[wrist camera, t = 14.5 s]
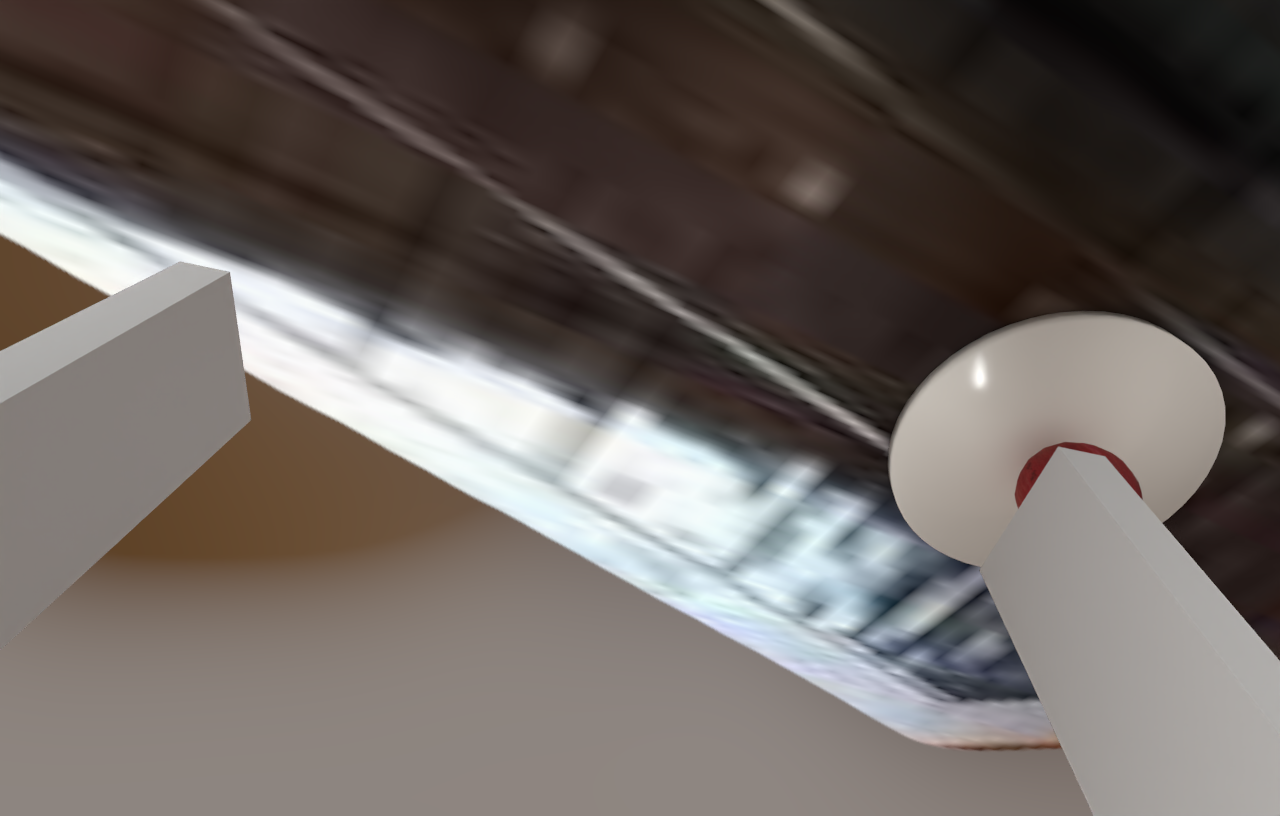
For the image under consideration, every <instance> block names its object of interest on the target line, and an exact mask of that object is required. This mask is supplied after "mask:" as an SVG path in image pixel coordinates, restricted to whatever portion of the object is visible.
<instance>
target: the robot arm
mask: <svg viewBox="0 0 1280 816" xmlns="http://www.w3.org/2000/svg"><path fill="white" fill-rule="evenodd" d="M250 420H251V417H250V409H249V402H248V395H247V388H246V381H245V374H244V367H243V360H242V353H241V346H240V339H239V332H238V325H237V318H236V311H235V305H234V298H233V291H232V284H231V277H230V272H227V271H222V270H218V269H213V268H208V267H203V266H199V265H194V264H189V263H184V262H178V263H176V264H174V265H172V266H170V267H168V268H166V269H164V270H162V271H160V272H158V273H156V274H154V275H152V276H150V277H148V278H146V279H144V280H142V281H140V282H138V283H136V284H134V285H132V286H130V287H128V288H126V289H124V290H122V291H120V292H118V293H116V294H114V295H112V296H110V297H108V298H106V299H104V300H102V301H100V302H98V303H96V304H94V305H92V306H90V307H88V308H86V309H84V310H82V311H80V312H78V313H76V314H74V315H72V316H70V317H68V318H66V319H64V320H62V321H60V322H58V323H56V324H54V325H52V326H50V327H48V328H46V329H44V330H42V331H40V332H38V333H36V334H34V335H32V336H30V337H28V338H26V339H24V340H22V341H20V342H18V343H16V344H14V345H12V346H10V347H8V348H6V349H4V350H2V351H0V650H1V649H2V648H3V647H4V646H6V645H7V644H8V643H9V642H10V641H11V640H12V639H13V638H14V637H15V636H16V635H17V634H18V633H20V632H21V631H22V630H23V629H24V628H25V627H26V626H27V625H28V624H29V623H30V622H31V621H33V620H34V619H35V618H36V617H37V616H38V615H39V614H40V613H41V612H43V611H44V610H45V609H46V608H47V607H48V606H49V605H50V604H51V603H52V602H53V601H54V600H56V599H57V598H58V597H59V596H60V595H61V594H62V593H63V592H64V591H65V590H66V589H68V588H69V587H70V586H71V585H72V584H73V583H74V582H75V581H76V580H77V579H78V578H80V577H81V576H82V575H83V574H84V573H85V572H86V571H87V570H88V569H89V568H90V567H92V566H93V565H94V564H95V563H96V562H97V561H98V560H99V559H100V558H101V557H102V556H103V555H105V554H106V553H107V552H108V551H109V550H110V549H111V548H112V547H113V546H114V545H115V544H117V543H118V542H119V541H120V540H121V539H122V538H123V537H124V536H125V535H126V534H127V533H128V532H130V530H132V529H133V528H134V527H135V526H136V525H137V524H138V523H139V522H140V521H142V520H143V519H144V518H145V517H146V516H147V515H148V514H149V513H150V512H151V511H152V510H154V509H155V508H156V507H157V506H158V505H159V504H160V503H161V502H162V501H163V500H164V499H166V498H167V497H168V496H169V495H170V494H171V493H172V492H173V491H174V490H175V489H176V488H178V487H179V486H180V485H181V484H182V483H183V482H184V481H185V480H186V479H187V478H188V477H190V476H191V475H192V474H193V473H194V472H195V471H196V470H197V469H198V468H199V467H200V466H201V465H203V464H204V463H205V462H206V461H207V460H208V459H209V458H210V457H211V456H212V455H213V454H214V453H215V452H217V451H218V450H219V449H220V448H221V447H222V446H223V445H224V444H225V443H226V442H228V441H229V440H230V439H231V438H232V437H233V436H234V435H235V434H236V433H237V432H238V431H239V430H241V429H242V428H243V427H244V426H245V425H246V424H247V423H248V422H249V421H250ZM980 573H981V575H982V577H983V579H984V581H985V583H986V585H987V588H988V590H989V592H990V594H991V596H992V598H993V601H994V603H995V605H996V607H997V609H998V611H999V613H1000V616H1001V618H1002V620H1003V622H1004V624H1005V626H1006V628H1007V631H1008V633H1009V635H1010V637H1011V639H1012V641H1013V644H1014V646H1015V648H1016V650H1017V652H1018V654H1019V656H1020V659H1021V661H1022V663H1023V665H1024V667H1025V669H1026V672H1027V674H1028V676H1029V678H1030V680H1031V682H1032V684H1033V687H1034V689H1035V691H1036V693H1037V695H1038V697H1039V699H1040V702H1041V704H1042V706H1043V708H1044V710H1045V712H1046V715H1047V717H1048V719H1049V721H1050V723H1051V725H1052V727H1053V730H1054V732H1055V734H1056V736H1057V738H1058V740H1059V742H1060V745H1061V747H1062V749H1063V751H1064V753H1065V755H1066V757H1067V760H1068V762H1069V764H1070V766H1071V768H1072V770H1073V772H1074V775H1075V777H1076V779H1077V781H1078V783H1079V785H1080V788H1081V790H1082V792H1083V794H1084V796H1085V798H1086V801H1087V802H1088V805H1089V807H1090V809H1091V811H1092V813H1093V816H1280V661H1279V660H1278V658H1277V657H1276V656H1275V655H1274V654H1273V652H1272V651H1271V650H1270V649H1269V648H1268V647H1267V645H1266V644H1265V643H1264V642H1263V641H1262V640H1261V638H1260V637H1259V636H1258V635H1257V634H1256V633H1255V631H1254V630H1253V629H1252V628H1251V627H1250V626H1249V624H1248V623H1247V622H1246V621H1245V620H1244V618H1243V617H1242V616H1241V615H1240V614H1239V613H1238V611H1237V610H1236V609H1235V608H1234V607H1233V606H1232V604H1231V603H1230V602H1229V601H1228V600H1227V599H1226V597H1225V596H1224V595H1223V594H1222V593H1221V592H1220V590H1219V589H1218V588H1217V587H1216V586H1215V585H1214V583H1213V582H1212V581H1211V580H1210V579H1209V577H1208V576H1207V575H1206V574H1205V573H1204V572H1203V570H1202V569H1201V568H1200V567H1199V566H1198V565H1197V563H1196V562H1195V561H1194V560H1193V559H1192V558H1191V556H1190V555H1189V554H1188V553H1187V552H1186V551H1185V549H1184V548H1183V547H1182V546H1181V545H1180V543H1179V542H1178V541H1177V540H1176V539H1175V538H1174V536H1173V535H1172V534H1171V533H1170V532H1169V531H1168V529H1167V528H1166V527H1165V526H1164V525H1163V524H1162V522H1161V521H1160V520H1159V519H1158V518H1157V517H1156V515H1155V514H1154V513H1153V512H1152V511H1151V510H1150V508H1149V507H1148V506H1147V505H1146V504H1145V502H1144V501H1143V500H1142V499H1141V498H1140V497H1139V495H1138V494H1137V493H1136V492H1135V491H1134V490H1133V488H1132V487H1131V486H1130V485H1129V484H1128V483H1127V481H1126V480H1125V479H1124V478H1123V477H1122V476H1121V474H1120V473H1119V472H1118V471H1117V470H1116V468H1115V467H1114V466H1113V465H1112V464H1111V463H1110V461H1109V460H1108V459H1107V458H1106V457H1105V456H1101V455H1096V454H1091V453H1087V452H1082V451H1077V450H1072V449H1068V448H1063V447H1057V449H1056V451H1055V452H1054V454H1053V455H1052V457H1051V458H1050V460H1049V462H1048V463H1047V465H1046V466H1045V468H1044V469H1043V471H1042V473H1041V474H1040V476H1039V477H1038V479H1037V480H1036V482H1035V484H1034V485H1033V487H1032V488H1031V490H1030V491H1029V493H1028V495H1027V496H1026V498H1025V499H1024V501H1023V502H1022V504H1021V506H1020V507H1019V509H1018V510H1017V512H1016V513H1015V515H1014V517H1013V518H1012V520H1011V521H1010V523H1009V524H1008V526H1007V528H1006V529H1005V531H1004V532H1003V534H1002V535H1001V537H1000V539H999V540H998V542H997V543H996V545H995V546H994V548H993V550H992V551H991V553H990V554H989V556H988V557H987V559H986V561H985V562H984V564H983V565H982V567H981V568H980Z"/></svg>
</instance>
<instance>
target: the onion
mask: <svg viewBox="0 0 1280 816" xmlns="http://www.w3.org/2000/svg"><path fill="white" fill-rule="evenodd" d="M1057 447H1063V448H1068V449H1072V450H1077V451H1082V452H1087V453H1091V454H1096V455H1101V456H1105V457H1106V458H1107V459H1108V460H1109V461H1110V463H1111V464H1112V465H1113V466H1114V467H1115V468H1116V470H1117V471H1118V472H1119V473H1120V474H1121V476H1122V477H1123V478H1124V479H1125V480H1126V481H1127V483H1128V484H1129V485H1130V486H1131V487H1132V488H1133V490H1134V491H1135V492H1136V493H1137V494H1138V495H1139V497H1140V498H1141V499H1142V500H1143V497H1142V492H1141V488H1140V485H1139V482H1138V480H1137V479H1136V477H1135V476H1134V474H1133V473H1132V471H1131V470H1130V469H1129V468H1128V467H1127V465H1126V464H1125V463H1124V462H1123V461H1122V460H1121V459H1120V458H1118V457H1117V456H1116V455H1114V454H1113V453H1111V452H1109V451H1107V450H1104V449H1102V448H1099V447H1097V446H1095V445H1091V444H1087V443H1076V442H1063V443H1059V444H1056V445H1052V446H1049V447H1045V448H1043V449H1042V450H1041V451H1039V452H1038V453H1036V454H1035V455H1034V456H1032V457H1031V458H1030V459H1028V461H1027V463H1026V464H1025V466H1024V467H1023V469H1022V470H1021V472H1020V474H1019V477H1018V479H1017V485H1016V490H1015V500H1016V504H1017V507H1018V509H1019V507H1020V506H1021V504H1022V502H1023V501H1024V499H1025V498H1026V496H1027V495H1028V493H1029V491H1030V490H1031V488H1032V487H1033V485H1034V484H1035V482H1036V480H1037V479H1038V477H1039V476H1040V474H1041V473H1042V471H1043V469H1044V468H1045V466H1046V465H1047V463H1048V462H1049V460H1050V458H1051V457H1052V455H1053V454H1054V452H1055V451H1056V449H1057Z"/></svg>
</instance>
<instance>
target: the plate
mask: <svg viewBox="0 0 1280 816" xmlns="http://www.w3.org/2000/svg"><path fill="white" fill-rule="evenodd" d="M1224 429H1225V404H1224V399H1223V394H1222V390H1221V388H1220V386H1219V383H1218V381H1217V379H1216V376H1215V375H1214V373H1213V372H1212V370H1211V369H1210V367H1209V366H1208V365H1207V363H1206V362H1205V361H1204V360H1203V359H1202V358H1201V357H1200V356H1199V355H1198V354H1197V353H1196V352H1195V351H1194V350H1193V349H1192V348H1191V347H1189V346H1188V345H1186V344H1185V343H1184V342H1182V341H1181V340H1180V339H1178V338H1177V337H1175V336H1174V335H1172V334H1171V333H1169V332H1168V331H1166V330H1165V329H1163V328H1161V327H1159V326H1157V325H1154V324H1152V323H1150V322H1148V321H1146V320H1142V319H1139V318H1135V317H1132V316H1129V315H1125V314H1118V313H1112V312H1105V311H1070V312H1059V313H1052V314H1047V315H1042V316H1037V317H1032V318H1029V319H1026V320H1022V321H1019V322H1016V323H1013V324H1010V325H1007V326H1005V327H1002V328H1000V329H998V330H995V331H993V332H990V333H988V334H986V335H984V336H982V337H981V338H979V339H977V340H975V341H973V342H971V343H970V344H968V345H966V346H965V347H963V348H962V349H960V350H959V351H957V352H956V353H954V354H953V355H952V356H950V357H949V358H947V359H946V360H945V361H944V362H943V363H942V364H940V365H939V366H938V367H937V368H936V369H935V370H933V371H932V372H931V373H930V374H929V375H928V376H927V378H926V379H925V380H924V381H923V382H922V383H921V384H920V385H919V386H918V387H917V389H916V390H915V391H914V393H913V394H912V395H911V397H910V398H909V400H908V401H907V402H906V404H905V406H904V408H903V410H902V411H901V413H900V415H899V417H898V419H897V421H896V424H895V427H894V429H893V432H892V435H891V439H890V444H889V448H888V463H887V466H888V475H889V481H890V485H891V488H892V491H893V494H894V497H895V500H896V503H897V505H898V507H899V509H900V511H901V513H902V515H903V517H904V519H905V520H906V522H907V523H908V524H909V526H910V527H911V528H912V530H913V531H914V532H915V533H916V534H917V535H918V536H919V537H920V538H921V539H922V540H923V541H925V542H926V543H928V544H929V545H930V546H932V547H933V548H934V549H936V550H938V551H940V552H941V553H943V554H945V555H947V556H949V557H951V558H954V559H956V560H959V561H962V562H964V563H968V564H971V565H975V566H979V567H982V565H983V564H984V562H985V561H986V559H987V557H988V556H989V554H990V553H991V551H992V550H993V548H994V546H995V545H996V543H997V542H998V540H999V539H1000V537H1001V535H1002V534H1003V532H1004V531H1005V529H1006V528H1007V526H1008V524H1009V523H1010V521H1011V520H1012V518H1013V517H1014V515H1015V513H1016V512H1017V510H1018V507H1017V504H1016V500H1015V490H1016V485H1017V479H1018V477H1019V474H1020V472H1021V470H1022V469H1023V467H1024V466H1025V464H1026V463H1027V461H1028V459H1030V458H1031V457H1032V456H1034V455H1035V454H1036V453H1038V452H1039V451H1041V450H1042V449H1043V448H1045V447H1049V446H1052V445H1056V444H1059V443H1063V442H1076V443H1087V444H1091V445H1095V446H1097V447H1099V448H1102V449H1104V450H1107V451H1109V452H1111V453H1113V454H1114V455H1116V456H1117V457H1118V458H1120V459H1121V460H1122V461H1123V462H1124V463H1125V464H1126V465H1127V467H1128V468H1129V469H1130V470H1131V471H1132V473H1133V474H1134V476H1135V477H1136V479H1137V480H1138V482H1139V485H1140V488H1141V492H1142V497H1143V501H1144V502H1145V504H1146V505H1147V506H1148V507H1149V508H1150V510H1151V511H1152V512H1153V513H1154V514H1155V515H1156V517H1157V518H1158V519H1159V520H1160V521H1161V522H1162V523H1163V522H1164V521H1166V520H1167V519H1168V518H1169V517H1171V516H1172V515H1173V514H1174V513H1175V512H1176V511H1177V510H1178V509H1179V508H1181V507H1182V506H1183V505H1184V504H1185V503H1186V501H1187V500H1188V499H1189V498H1190V497H1191V496H1192V495H1193V494H1194V493H1195V492H1196V490H1197V489H1198V488H1199V486H1200V485H1201V483H1202V482H1203V481H1204V479H1205V478H1206V476H1207V475H1208V473H1209V471H1210V469H1211V467H1212V465H1213V464H1214V462H1215V460H1216V458H1217V455H1218V452H1219V449H1220V446H1221V444H1222V440H1223V434H1224Z"/></svg>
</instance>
